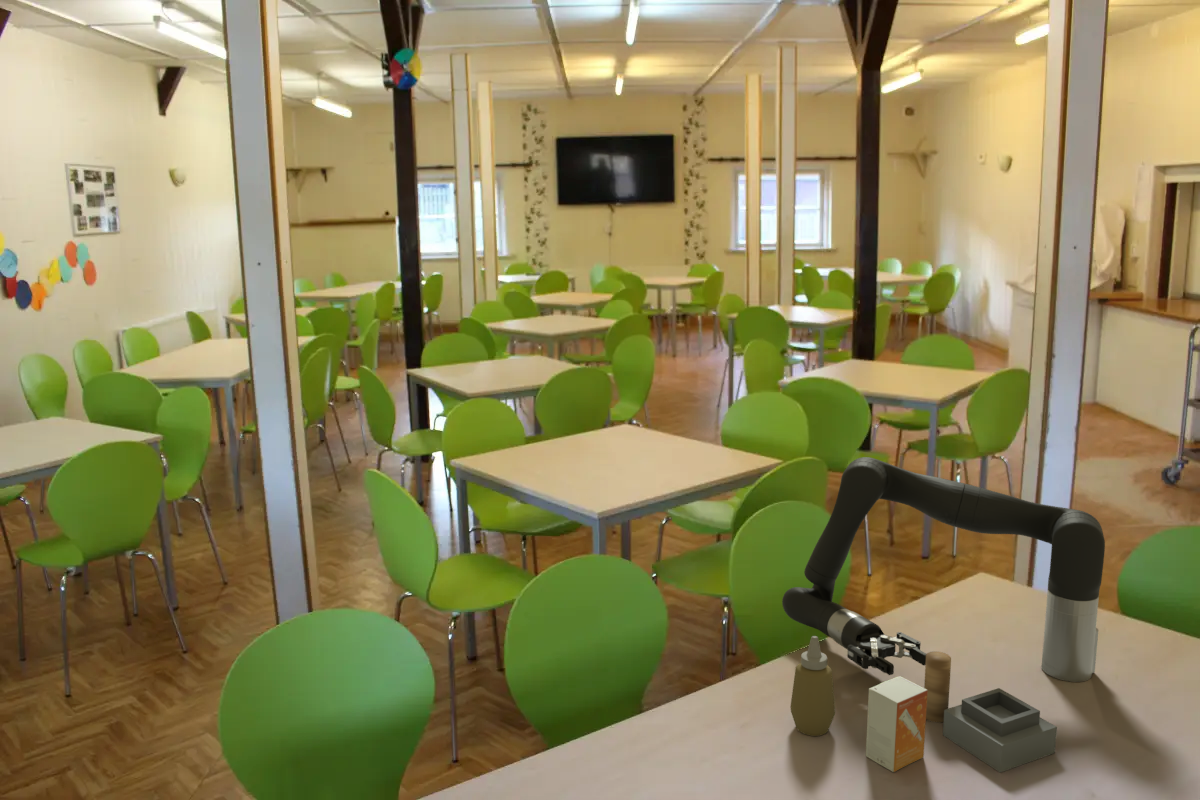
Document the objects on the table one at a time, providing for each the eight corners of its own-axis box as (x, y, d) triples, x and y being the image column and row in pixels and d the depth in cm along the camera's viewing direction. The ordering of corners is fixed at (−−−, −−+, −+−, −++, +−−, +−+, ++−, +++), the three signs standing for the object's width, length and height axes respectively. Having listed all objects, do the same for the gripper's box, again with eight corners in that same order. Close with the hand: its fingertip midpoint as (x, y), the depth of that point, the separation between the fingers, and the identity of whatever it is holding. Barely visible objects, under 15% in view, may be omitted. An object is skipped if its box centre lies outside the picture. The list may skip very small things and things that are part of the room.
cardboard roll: (935, 708, 182) (938, 649, 180) (952, 718, 178) (956, 659, 176) (917, 713, 180) (920, 654, 178) (934, 724, 176) (938, 664, 174)
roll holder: (995, 717, 178) (998, 680, 177) (1054, 752, 167) (1058, 713, 165) (942, 735, 173) (945, 697, 171) (1000, 772, 161) (1002, 732, 160)
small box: (893, 773, 162) (897, 703, 159) (864, 756, 167) (867, 687, 164) (925, 757, 166) (928, 689, 163) (895, 741, 171) (898, 674, 169)
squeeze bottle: (836, 720, 178) (839, 630, 175) (832, 743, 171) (835, 650, 167) (793, 713, 181) (795, 625, 177) (786, 736, 174) (788, 644, 170)
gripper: (827, 622, 195) (881, 655, 181) (882, 609, 201) (939, 639, 186) (826, 656, 197) (880, 691, 182) (880, 642, 202) (937, 675, 188)
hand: (909, 665), depth 184 cm, fingers open, 8 cm apart
